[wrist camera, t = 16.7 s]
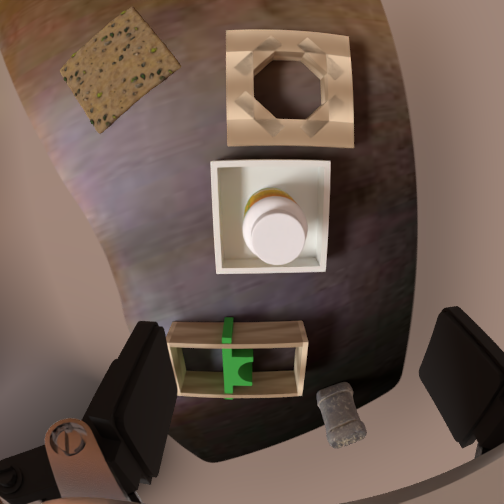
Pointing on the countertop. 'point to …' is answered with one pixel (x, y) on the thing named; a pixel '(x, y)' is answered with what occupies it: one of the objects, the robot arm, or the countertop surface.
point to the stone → (340, 415)
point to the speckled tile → (117, 68)
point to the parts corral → (241, 338)
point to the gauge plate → (314, 58)
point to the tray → (250, 181)
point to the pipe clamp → (235, 361)
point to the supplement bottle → (274, 226)
